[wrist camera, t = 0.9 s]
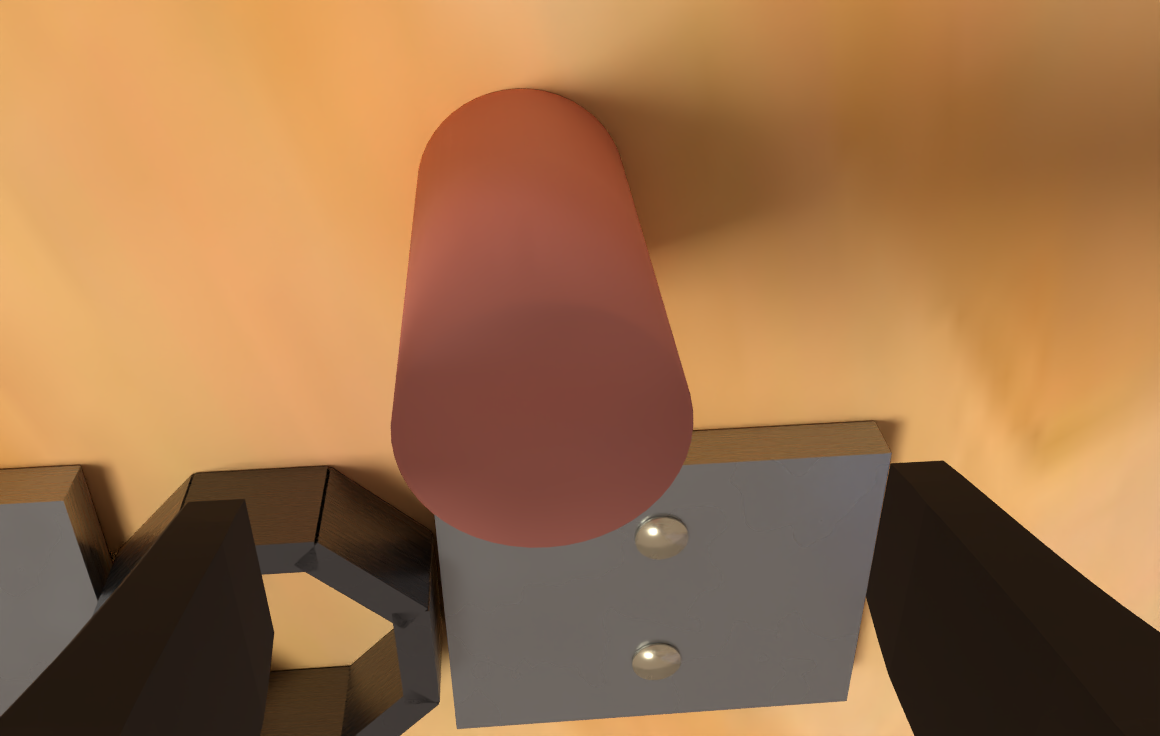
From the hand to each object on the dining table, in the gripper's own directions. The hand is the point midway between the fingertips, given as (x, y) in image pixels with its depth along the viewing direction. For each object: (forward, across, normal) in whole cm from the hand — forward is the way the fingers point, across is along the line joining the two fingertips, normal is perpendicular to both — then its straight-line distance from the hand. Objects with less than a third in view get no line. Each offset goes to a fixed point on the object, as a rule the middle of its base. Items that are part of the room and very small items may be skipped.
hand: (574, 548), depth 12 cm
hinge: (+10, +6, +10) cm, 16 cm away
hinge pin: (+10, 0, 0) cm, 10 cm away
